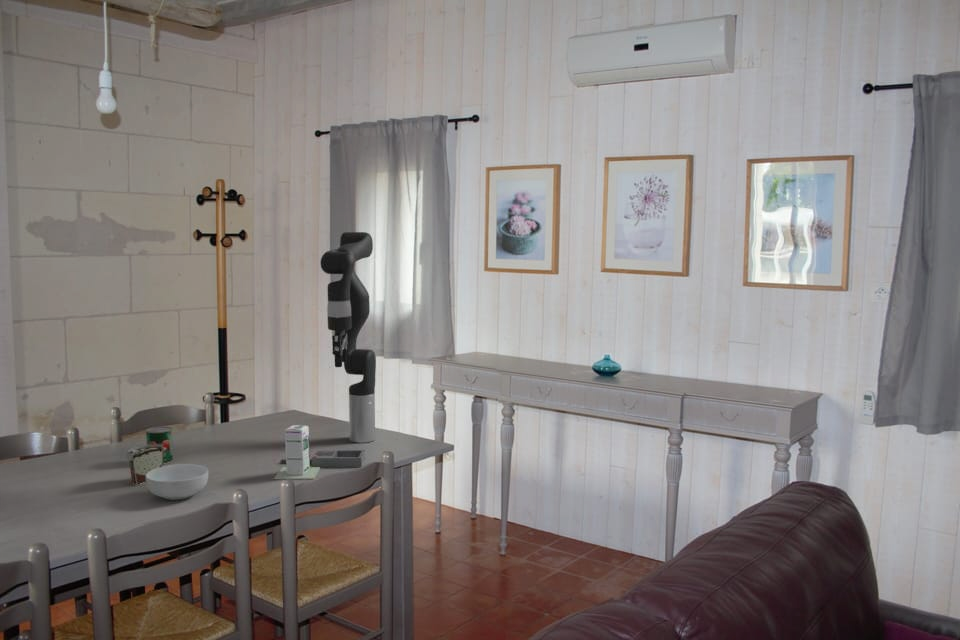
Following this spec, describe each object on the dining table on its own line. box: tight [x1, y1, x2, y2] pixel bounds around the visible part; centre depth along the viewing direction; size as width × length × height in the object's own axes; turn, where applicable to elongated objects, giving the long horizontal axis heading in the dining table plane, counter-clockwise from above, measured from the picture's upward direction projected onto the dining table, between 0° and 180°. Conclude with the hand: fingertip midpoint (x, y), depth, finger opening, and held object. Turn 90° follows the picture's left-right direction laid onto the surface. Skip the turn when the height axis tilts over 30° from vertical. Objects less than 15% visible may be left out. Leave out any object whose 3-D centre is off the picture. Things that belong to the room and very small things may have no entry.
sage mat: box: [273, 466, 321, 481], centre depth 257 cm, size 12×12×1 cm
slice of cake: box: [125, 444, 165, 486], centre depth 250 cm, size 12×6×10 cm, turn 152°
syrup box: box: [284, 424, 311, 475], centre depth 256 cm, size 6×6×14 cm
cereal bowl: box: [145, 463, 209, 501], centre depth 235 cm, size 17×17×7 cm
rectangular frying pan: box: [279, 449, 366, 468], centre depth 269 cm, size 10×27×3 cm, turn 91°
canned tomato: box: [145, 426, 174, 465], centre depth 270 cm, size 8×8×11 cm
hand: (340, 364), depth 264 cm, fingers open, 8 cm apart
